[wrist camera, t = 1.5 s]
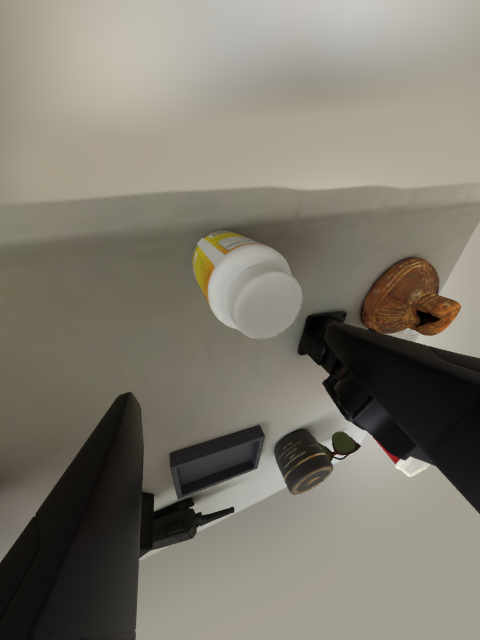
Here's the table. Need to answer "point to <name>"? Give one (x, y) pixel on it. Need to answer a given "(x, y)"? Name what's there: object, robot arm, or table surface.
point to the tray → (216, 461)
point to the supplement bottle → (246, 284)
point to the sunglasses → (341, 446)
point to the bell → (409, 300)
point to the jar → (302, 461)
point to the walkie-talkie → (180, 523)
